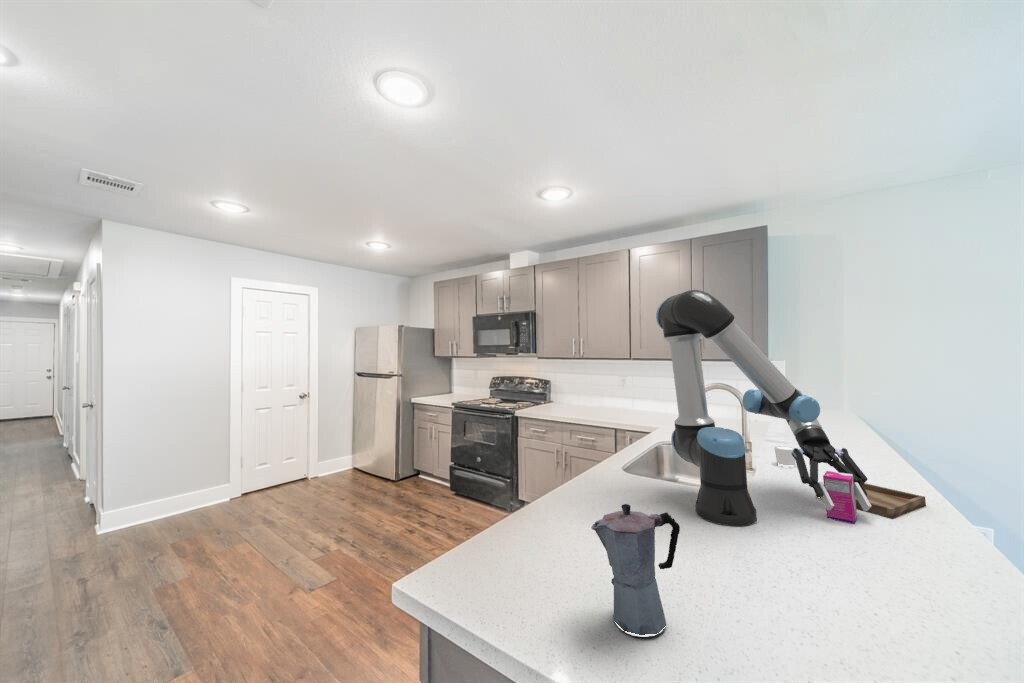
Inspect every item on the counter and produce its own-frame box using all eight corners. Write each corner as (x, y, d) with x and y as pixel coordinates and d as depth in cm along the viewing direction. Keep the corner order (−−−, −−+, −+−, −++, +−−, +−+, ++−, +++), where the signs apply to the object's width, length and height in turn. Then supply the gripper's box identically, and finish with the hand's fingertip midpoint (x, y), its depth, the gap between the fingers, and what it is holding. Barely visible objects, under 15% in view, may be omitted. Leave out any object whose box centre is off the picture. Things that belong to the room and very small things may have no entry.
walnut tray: (892, 518, 102) (891, 509, 102) (816, 497, 119) (815, 489, 119) (925, 505, 109) (925, 496, 110) (849, 487, 126) (848, 479, 126)
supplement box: (829, 511, 108) (826, 470, 109) (857, 517, 104) (854, 474, 104) (825, 518, 104) (822, 474, 105) (854, 524, 100) (851, 479, 100)
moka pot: (589, 607, 72) (583, 497, 73) (669, 599, 73) (663, 491, 74) (606, 645, 62) (599, 518, 63) (698, 635, 64) (690, 510, 64)
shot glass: (800, 468, 147) (799, 450, 148) (780, 468, 149) (779, 449, 149) (791, 463, 154) (790, 445, 154) (772, 463, 156) (771, 445, 156)
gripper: (842, 440, 118) (887, 515, 102) (767, 440, 122) (800, 513, 105) (852, 425, 113) (902, 502, 97) (774, 426, 117) (809, 500, 100)
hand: (849, 508), depth 101 cm, fingers closed on supplement box, 8 cm apart
